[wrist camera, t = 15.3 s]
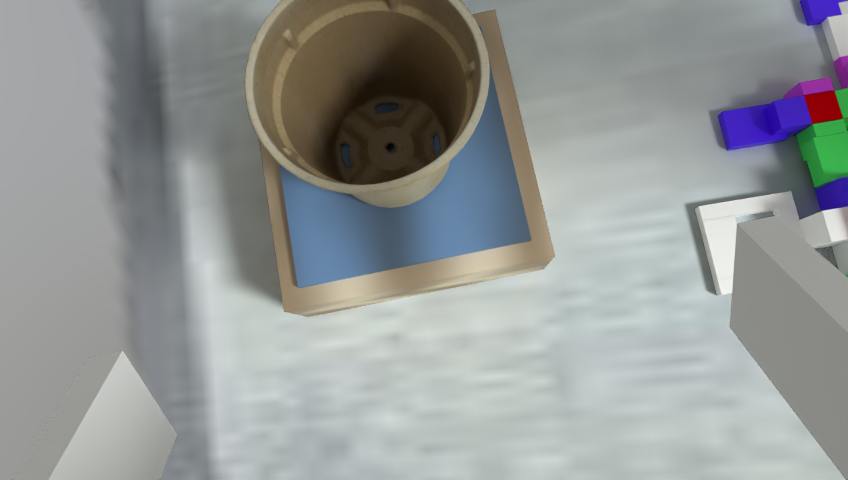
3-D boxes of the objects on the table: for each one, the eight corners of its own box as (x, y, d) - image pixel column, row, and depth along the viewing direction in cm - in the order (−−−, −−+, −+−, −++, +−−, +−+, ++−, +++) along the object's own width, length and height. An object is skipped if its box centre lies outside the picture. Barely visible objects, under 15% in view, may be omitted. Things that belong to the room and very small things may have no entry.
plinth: (491, 51, 37) (495, 5, 32) (543, 268, 34) (556, 254, 29) (274, 98, 37) (245, 60, 32) (308, 316, 35) (281, 310, 30)
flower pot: (424, 35, 32) (408, -79, 24) (519, 177, 30) (538, 108, 22) (274, 124, 32) (203, 40, 23) (360, 272, 30) (316, 240, 21)
